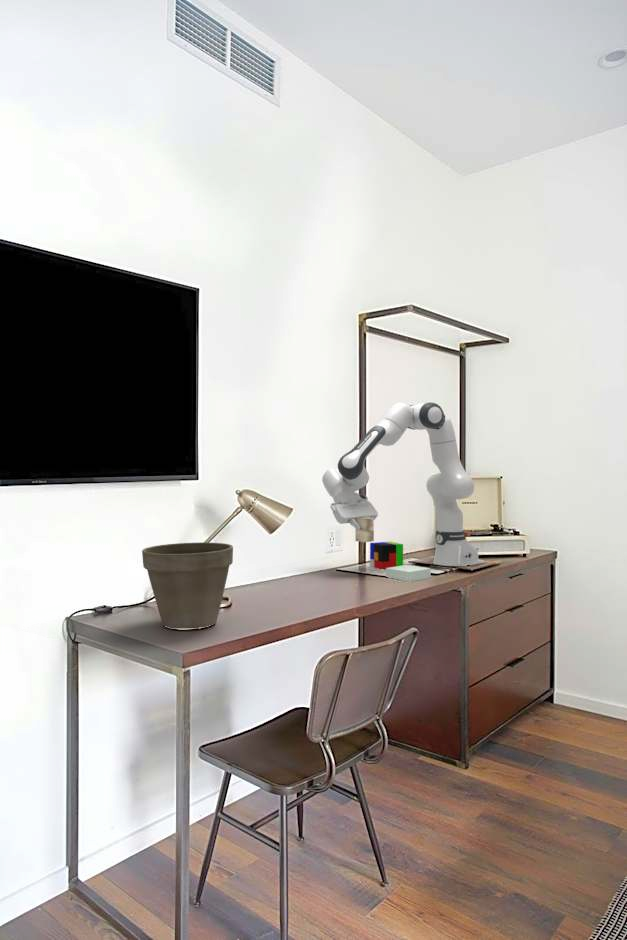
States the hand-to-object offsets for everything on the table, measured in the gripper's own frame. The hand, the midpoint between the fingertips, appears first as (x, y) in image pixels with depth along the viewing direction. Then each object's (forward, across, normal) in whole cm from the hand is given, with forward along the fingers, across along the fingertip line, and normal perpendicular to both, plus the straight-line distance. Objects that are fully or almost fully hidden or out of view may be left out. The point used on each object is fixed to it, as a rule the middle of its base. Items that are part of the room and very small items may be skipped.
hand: (365, 528), depth 265 cm
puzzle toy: (+7, +22, +20) cm, 30 cm away
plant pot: (+27, -91, -1) cm, 95 cm away
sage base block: (+23, +10, +4) cm, 25 cm away
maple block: (+3, 0, +4) cm, 5 cm away
